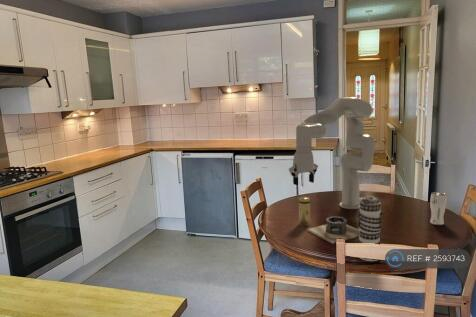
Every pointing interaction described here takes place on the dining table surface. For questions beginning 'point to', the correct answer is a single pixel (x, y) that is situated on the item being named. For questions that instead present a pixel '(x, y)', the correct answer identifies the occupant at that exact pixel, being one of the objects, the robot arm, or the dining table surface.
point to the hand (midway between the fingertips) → (303, 183)
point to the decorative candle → (369, 221)
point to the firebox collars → (336, 225)
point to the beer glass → (437, 207)
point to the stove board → (332, 238)
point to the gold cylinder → (304, 211)
